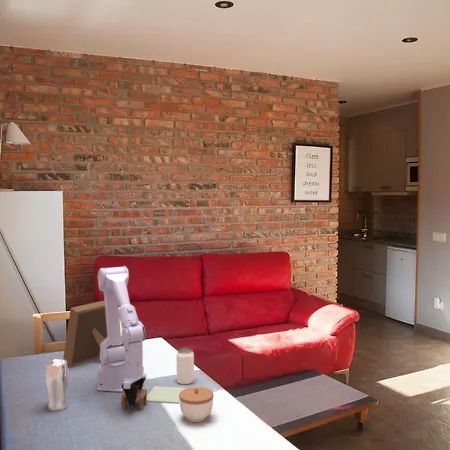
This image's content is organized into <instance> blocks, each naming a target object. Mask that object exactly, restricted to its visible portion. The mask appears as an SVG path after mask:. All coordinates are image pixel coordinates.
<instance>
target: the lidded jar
mask: <svg viewBox="0 0 450 450" xmlns="http://www.w3.org/2000/svg"><path fill="white" fill-rule="evenodd" d="M179 398H180V402H179V407H180V410H181V411H180V412H181V413H182V415H183V416H184V418H186V419H187V421H189V422H192V423H200V422H203V421H205V420H206V419H207V417H208V416H210V414H211V412H212V409H213V407H214V406H213V405H214V392H213V390H211V389H210V388H207V387H203V386H202V387H201V386H192V387H188V388H187V387H186V389H184V390H182V391H181V392H180V394H179Z"/></svg>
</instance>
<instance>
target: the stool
mask: <svg viewBox="0 0 450 450" xmlns="http://www.w3.org/2000/svg"><path fill="white" fill-rule="evenodd" d="M147 392H148V390H147V389H145V388H142V389H138V391H137V396H136V398H139V399H138V400H139V411H143V410H144V406H147V404H148V402H147V395H148V394H147ZM127 405H128V401H127V398H126V394H125V392H124V391H122V393H121V409H122V410H125V409H126V408H127Z"/></svg>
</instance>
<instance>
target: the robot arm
mask: <svg viewBox="0 0 450 450" xmlns="http://www.w3.org/2000/svg"><path fill="white" fill-rule="evenodd" d="M129 279H130V274H129V269H128V268H127V266H125V265H123V266H115V267H101V268H99V270H98V273H97V283H98V290H99V291H100V292H103V297H104V300H105V313H106V325H107V337H106V339H104V340H103V341H102V342H101V344H100V358H99V359H100V363H99V366H98V368H97V389H96V390H97V391H101V392H119V393H121V392H122V393H123V392H125V394H126V398H127V401H128V404H127V406H136V404H137V403H136V402H137V400H139V398H136V396H137V391H138V389H143V387H144V383H145V380H146V379H147V373H144V372H145V370H144V369H145V368H144V363H143V362H144V361H143V359H144V356H143V355H144V353H143V352H144V351H143V342H144V341H145V340H146V329H145V326H144V324H143V323H142V321H140V320H139V317H138V314H137V311H136V307H135V306H134V305H132V304H131V302H130V297H129V293H128V292H129V291H128V288H127V287H128V284H129ZM104 300H103V301H104ZM118 304H119V306H118ZM121 327H122V330H121ZM110 345H112V346H110Z"/></svg>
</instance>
